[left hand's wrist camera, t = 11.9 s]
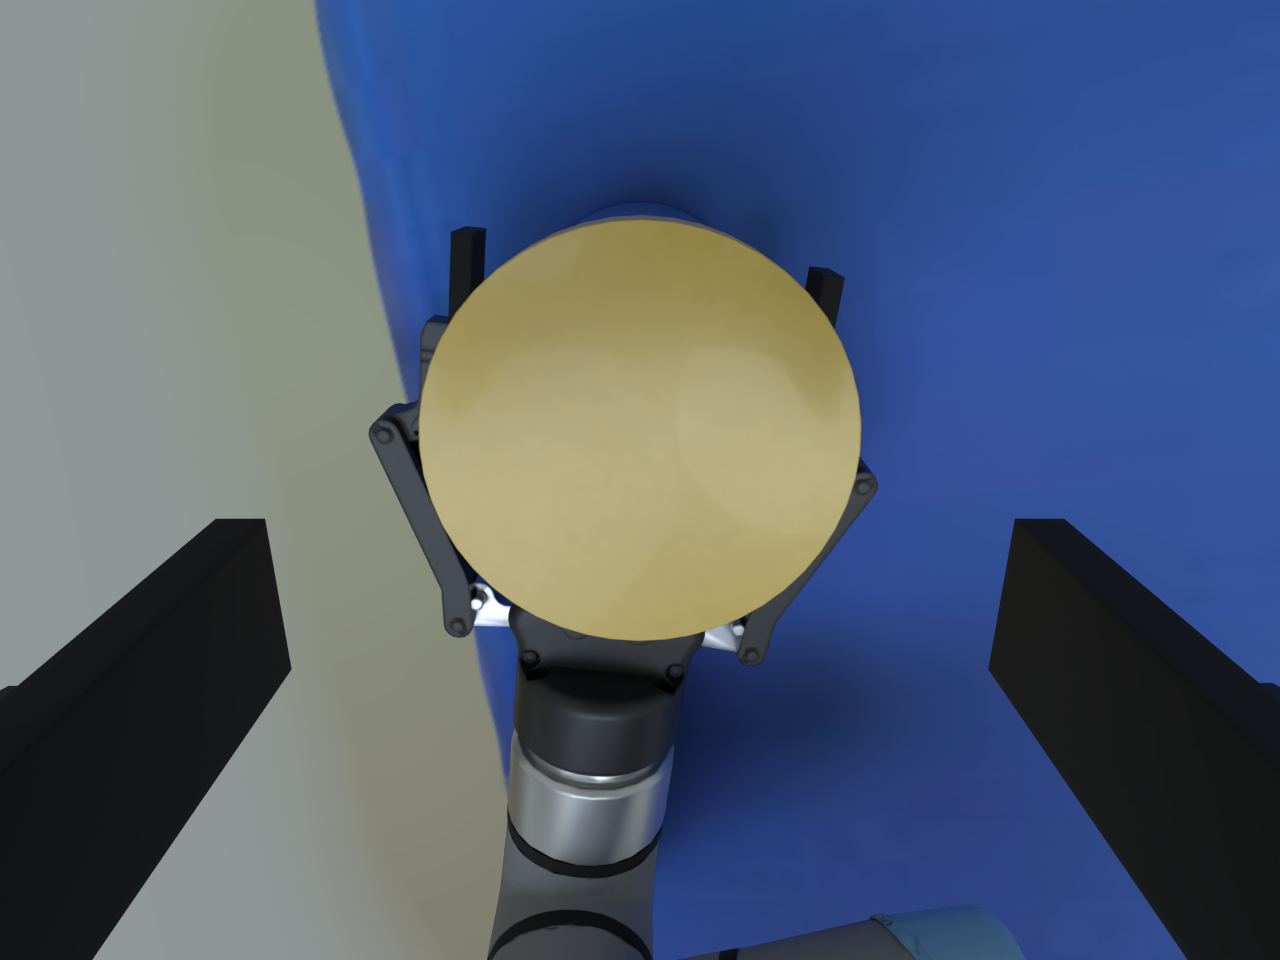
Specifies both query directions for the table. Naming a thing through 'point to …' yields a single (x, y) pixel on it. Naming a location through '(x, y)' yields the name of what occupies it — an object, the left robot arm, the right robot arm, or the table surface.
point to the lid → (639, 428)
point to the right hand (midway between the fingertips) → (649, 249)
